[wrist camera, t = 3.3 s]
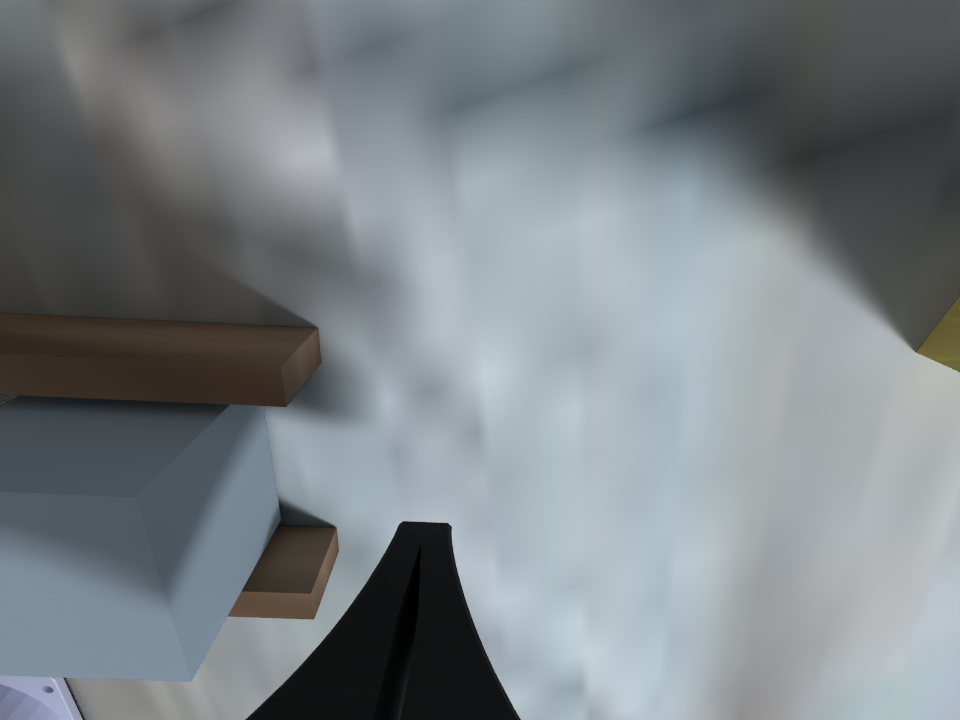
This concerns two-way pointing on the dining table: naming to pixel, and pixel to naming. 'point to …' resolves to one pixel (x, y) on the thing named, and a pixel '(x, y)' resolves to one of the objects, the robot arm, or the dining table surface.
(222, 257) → the dining table surface
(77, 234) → the dining table surface
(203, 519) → the block
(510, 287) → the dining table surface
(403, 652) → the robot arm
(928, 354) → the pasta box
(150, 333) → the brown wooden rails
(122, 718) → the dining table surface
